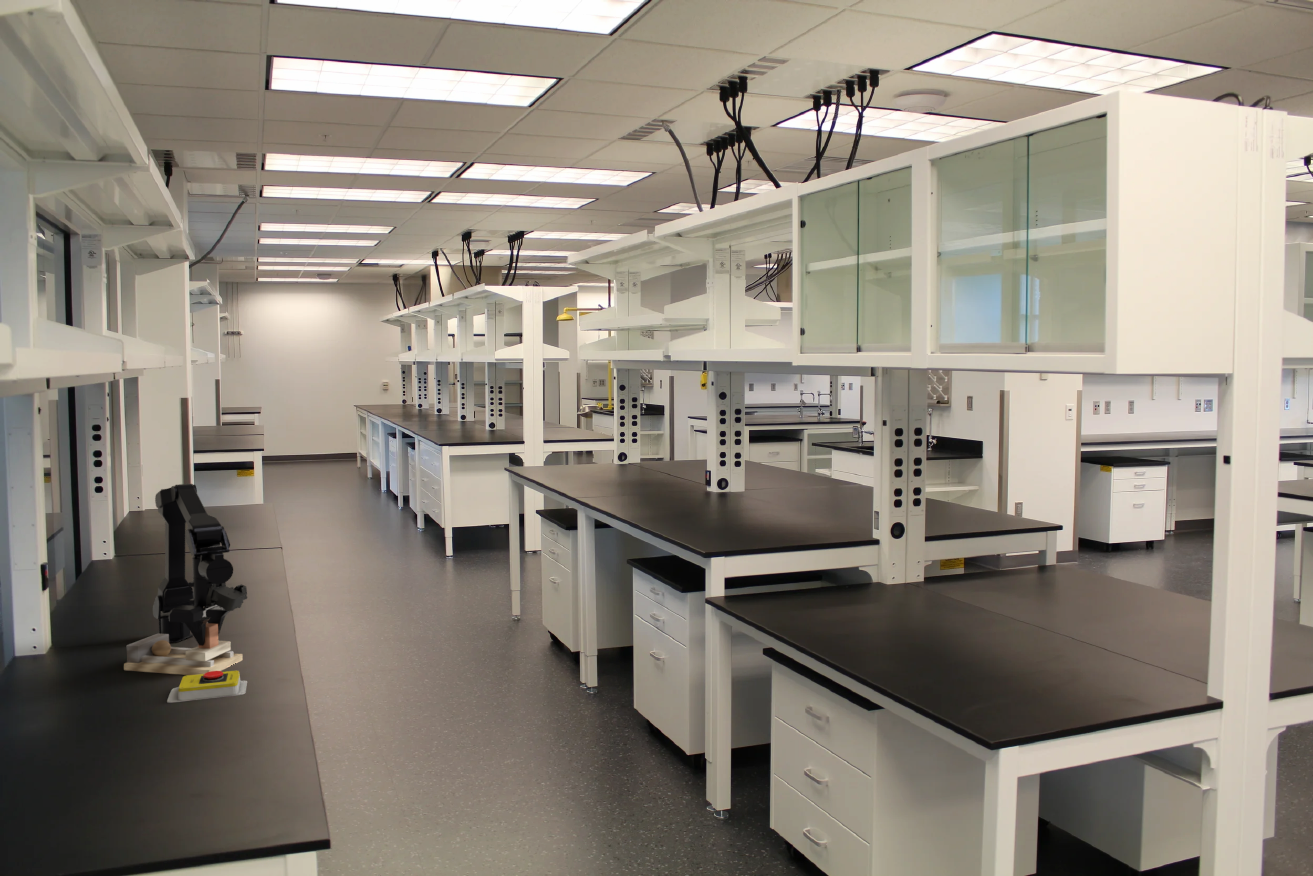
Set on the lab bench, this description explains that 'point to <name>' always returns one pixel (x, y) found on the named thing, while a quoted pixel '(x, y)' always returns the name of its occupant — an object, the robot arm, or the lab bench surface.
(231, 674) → the emergency button
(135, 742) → the lab bench surface
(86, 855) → the lab bench surface
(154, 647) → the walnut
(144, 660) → the press bed
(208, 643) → the slider
